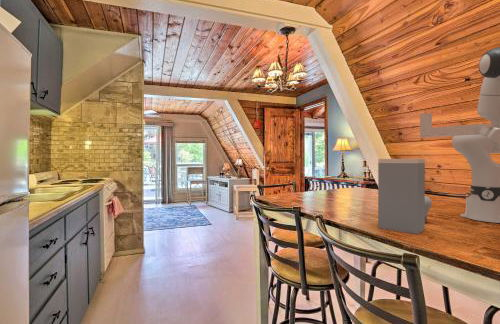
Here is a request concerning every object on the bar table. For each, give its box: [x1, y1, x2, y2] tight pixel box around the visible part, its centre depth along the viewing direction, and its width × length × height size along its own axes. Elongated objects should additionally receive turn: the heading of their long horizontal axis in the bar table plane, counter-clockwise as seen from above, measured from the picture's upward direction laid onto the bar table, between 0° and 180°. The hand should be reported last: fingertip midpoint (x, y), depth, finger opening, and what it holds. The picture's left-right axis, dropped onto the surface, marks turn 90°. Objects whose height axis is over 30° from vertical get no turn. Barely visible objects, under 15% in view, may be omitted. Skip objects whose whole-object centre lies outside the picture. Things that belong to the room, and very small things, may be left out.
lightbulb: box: [425, 195, 433, 222], centre depth 112 cm, size 6×6×11 cm
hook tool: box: [419, 112, 490, 138], centre depth 90 cm, size 3×18×8 cm, turn 46°
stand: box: [377, 158, 426, 235], centre depth 102 cm, size 10×13×26 cm
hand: (474, 128), depth 86 cm, fingers closed on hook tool, 3 cm apart
